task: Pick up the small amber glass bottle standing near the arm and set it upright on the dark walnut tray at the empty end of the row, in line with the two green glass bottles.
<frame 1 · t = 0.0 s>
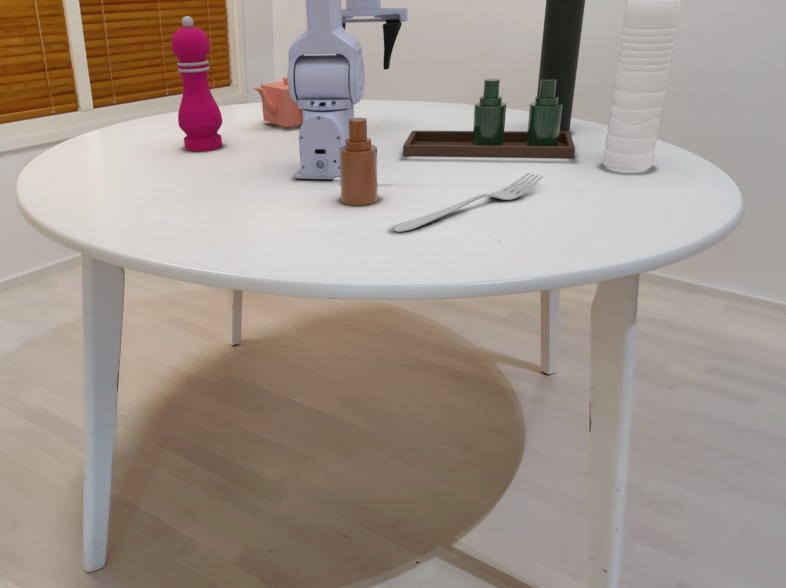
hand: (364, 69, 122), 10 cm above the table, tool pointing down, fingers open, 7 cm apart
green bottle 1: (541, 149, 107), point 1 cm above the table, touching tray
amber bottle: (359, 200, 90), on the table
pepper mill: (203, 148, 119), on the table
water bottle: (631, 167, 98), on the table
green bottle 2: (487, 148, 108), point 1 cm above the table, touching tray
teapot: (291, 125, 133), on the table
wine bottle: (551, 134, 118), on the table
tray: (487, 152, 108), on the table
fork: (470, 209, 85), on the table
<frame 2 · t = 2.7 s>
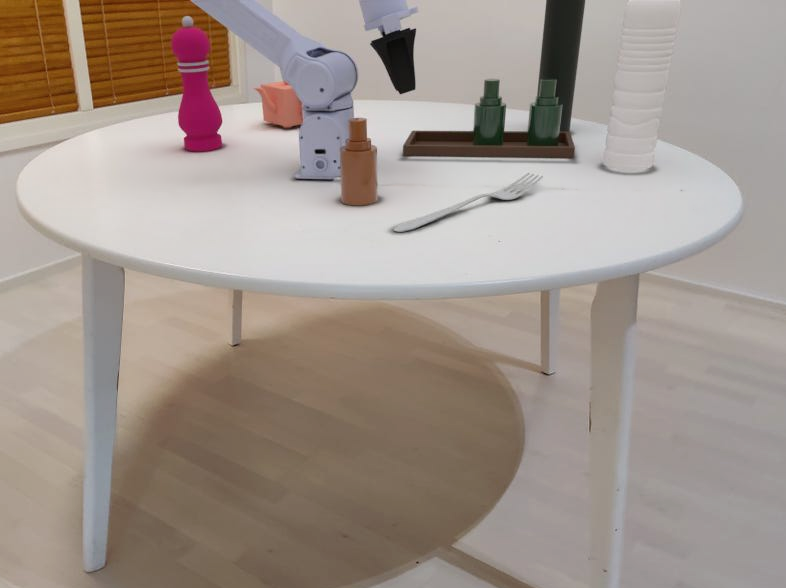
hand: (405, 90, 94), 11 cm above the table, tool tilted 15°, fingers open, 7 cm apart
nothing on the table moved.
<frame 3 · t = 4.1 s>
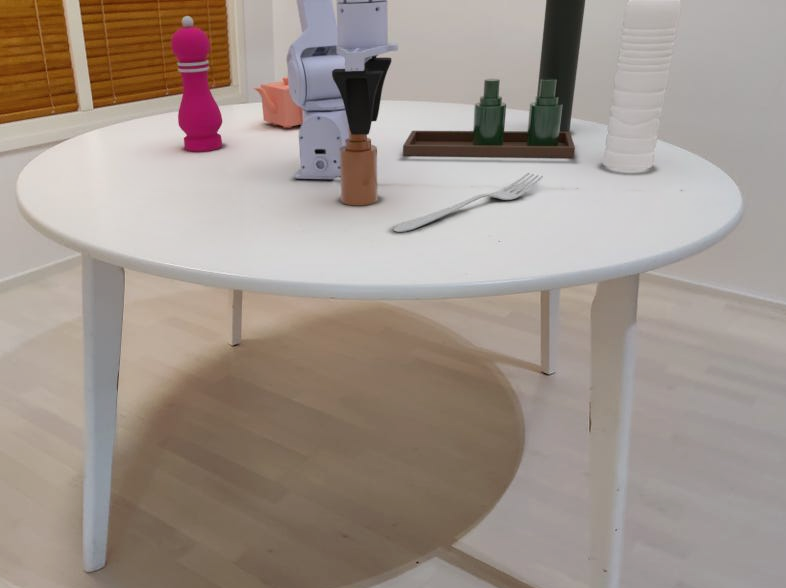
hand: (364, 127, 86), 9 cm above the table, tool pointing down, fingers open, 7 cm apart
nothing on the table moved.
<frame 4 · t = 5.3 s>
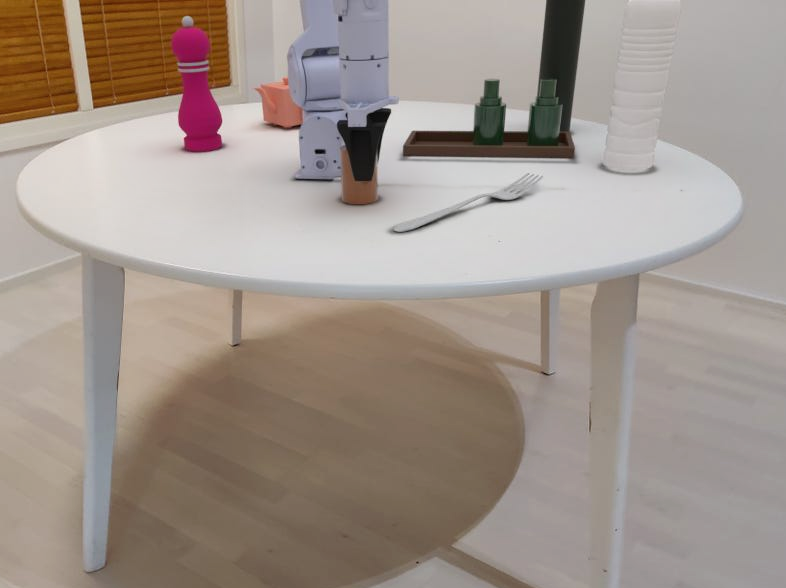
hand: (366, 174, 88), 3 cm above the table, tool pointing down, fingers closed on amber bottle, 4 cm apart
amber bottle: (359, 199, 90), on the table, touching gripper
everything else where it was.
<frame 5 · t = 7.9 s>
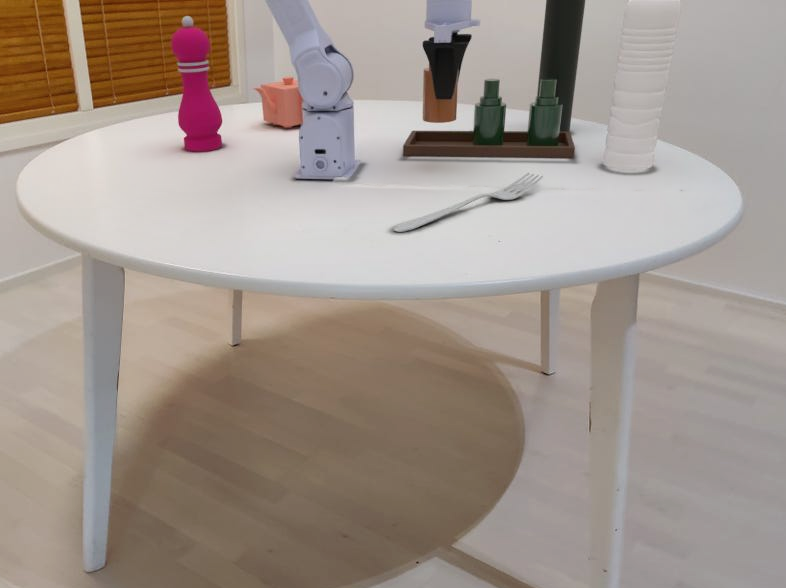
hand: (445, 95, 95), 10 cm above the table, tool pointing down, fingers closed on amber bottle, 4 cm apart
amber bottle: (439, 119, 97), point 7 cm above the table, touching gripper
everything else where it was.
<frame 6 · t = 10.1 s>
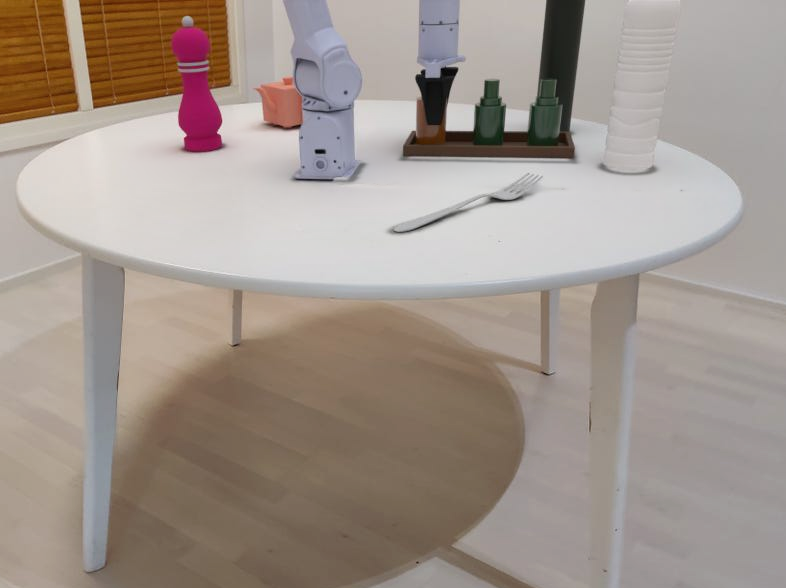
hand: (436, 121, 108), 5 cm above the table, tool pointing down, fingers closed on amber bottle, 4 cm apart
amber bottle: (430, 142, 110), point 1 cm above the table, touching gripper
everything else where it was.
when the fingers open (4 cm above the table, at t = 10.8 s): amber bottle stays where it is, resting on tray.
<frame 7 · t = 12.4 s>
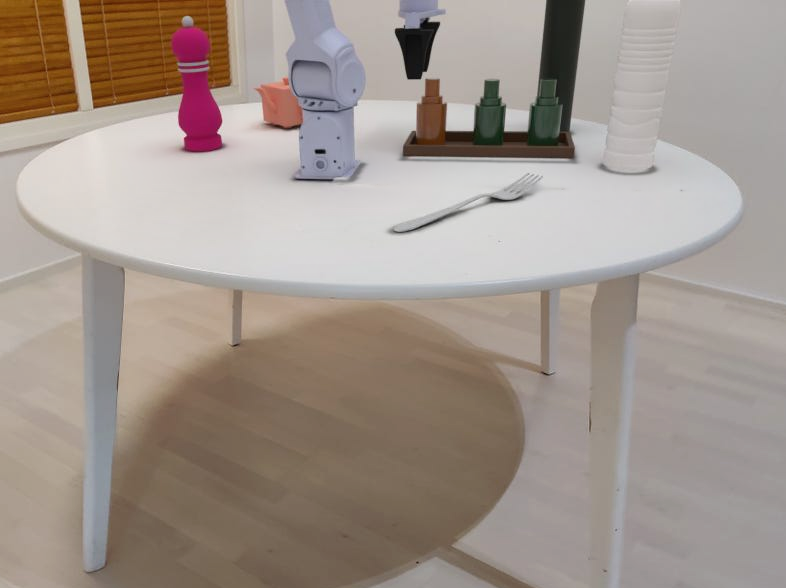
hand: (417, 75, 110), 10 cm above the table, tool pointing down, fingers open, 7 cm apart
amber bottle: (430, 146, 110), point 1 cm above the table, touching tray
everything else where it was.
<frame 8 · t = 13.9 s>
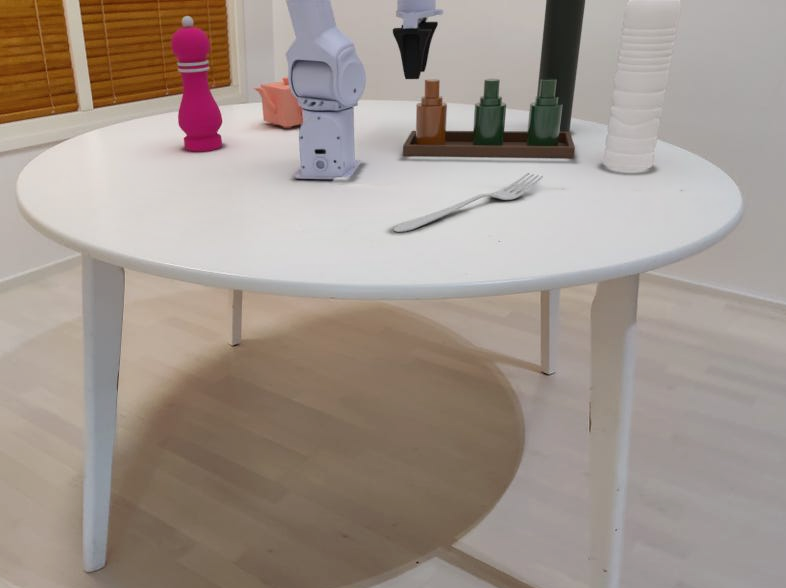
hand: (415, 75, 111), 10 cm above the table, tool pointing down, fingers open, 7 cm apart
nothing on the table moved.
at the end: amber bottle 0.7 cm from the target spot in the tray, point 0.6 cm above the tray's base; amber bottle tilted 0°; green bottle 2 moved 0.0 cm from its start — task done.
